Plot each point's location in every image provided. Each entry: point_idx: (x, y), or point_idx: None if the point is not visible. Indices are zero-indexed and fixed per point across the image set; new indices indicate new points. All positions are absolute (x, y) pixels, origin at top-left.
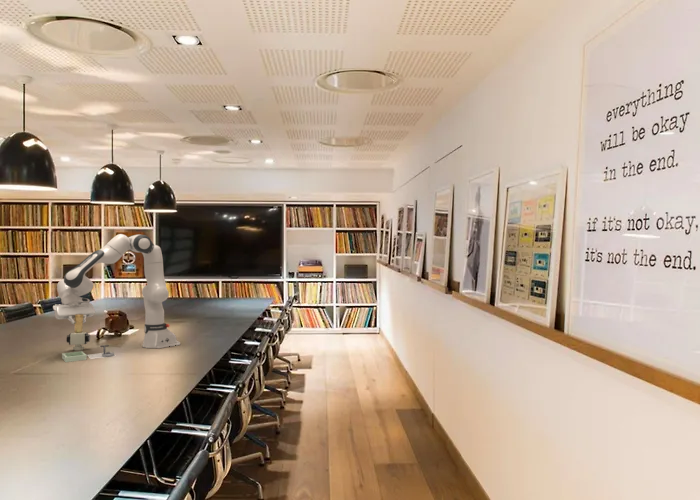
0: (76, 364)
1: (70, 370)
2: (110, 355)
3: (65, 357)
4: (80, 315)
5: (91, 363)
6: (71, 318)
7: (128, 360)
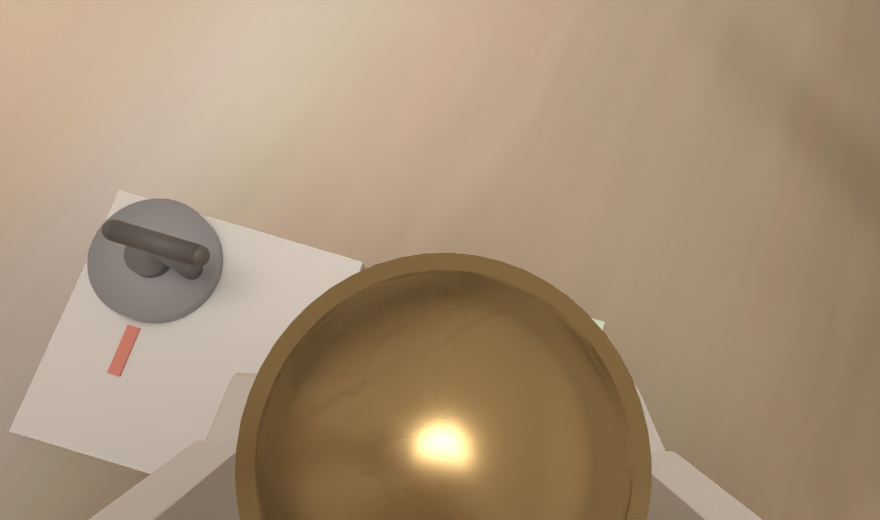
0: (519, 237)
1: (642, 79)
2: (169, 203)
3: (602, 329)
4: (470, 259)
5: (410, 167)
6: (705, 504)
7: (134, 16)
